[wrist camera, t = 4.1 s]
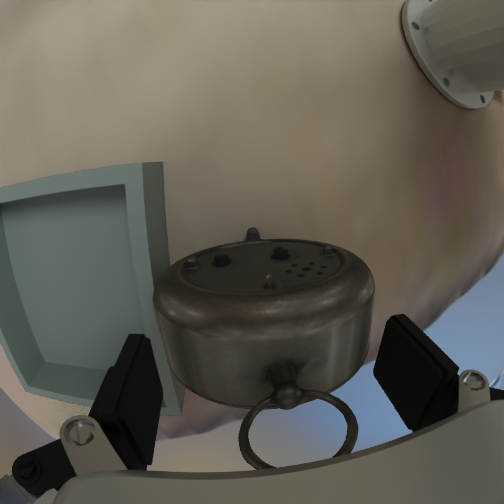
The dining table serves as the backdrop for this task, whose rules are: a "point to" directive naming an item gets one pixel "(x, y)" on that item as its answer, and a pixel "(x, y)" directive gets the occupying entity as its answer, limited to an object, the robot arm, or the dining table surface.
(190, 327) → the alarm clock
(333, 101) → the dining table surface
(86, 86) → the dining table surface
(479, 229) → the dining table surface
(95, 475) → the robot arm
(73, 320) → the bin
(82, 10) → the dining table surface
